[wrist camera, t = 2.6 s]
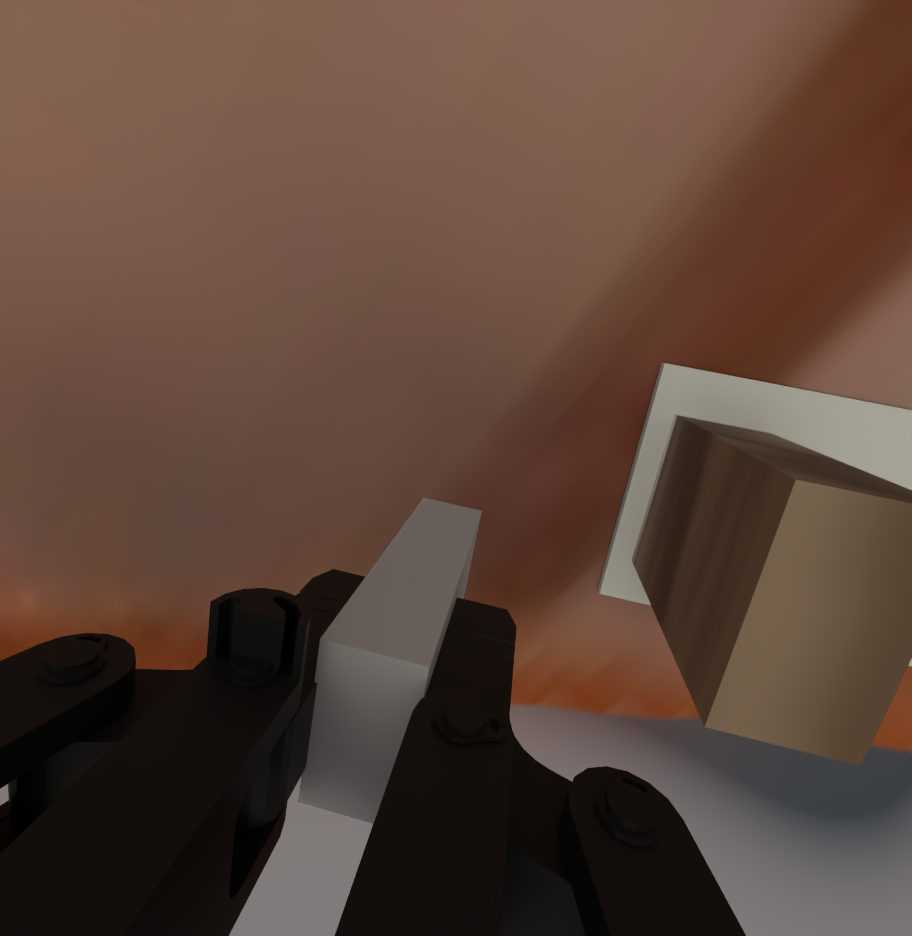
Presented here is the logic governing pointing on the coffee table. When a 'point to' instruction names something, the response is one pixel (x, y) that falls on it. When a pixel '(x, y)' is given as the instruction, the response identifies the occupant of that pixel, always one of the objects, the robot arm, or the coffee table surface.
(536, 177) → the coffee table surface
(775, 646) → the block
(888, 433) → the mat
